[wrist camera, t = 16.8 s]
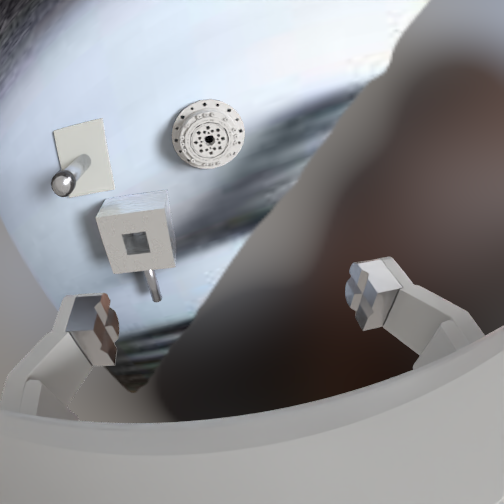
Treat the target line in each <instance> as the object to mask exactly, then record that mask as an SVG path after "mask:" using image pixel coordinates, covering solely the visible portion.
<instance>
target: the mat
mask: <svg viewBox="0 0 504 504" xmlns="http://www.w3.org/2000/svg"><path fill="white" fill-rule="evenodd" d="M54 137H55V142H56V147H57V151H58V156H59V160H60V165H61V169H62V170H65V169H66V168H67V167H68V166H69V165H70V164H71V163H72V162H73V161H74V160H75V159H76V158H77V157H79V156H80V155H81V154H86V155H88V156H89V157H90V158H91V165H90V167H89V168H88V169H87V170H86V171H85V173H84V174H83V175H82V176H81V177H80V178H79V179H78V181H77V182H76V186H75V189H74V190H73V191H72V193H71V194H70V195H69V198H71V197H76V196H81V195H86V194H92V193H97V192H103V191H109V190H115V184H114V179H113V174H112V169H111V164H110V159H109V153H108V147H107V142H106V135H105V129H104V122H103V118H100V119H96V120H92V121H87V122H83V123H79V124H76V125H72V126H68V127H65V128H61V129H58V130H55V131H54Z"/></svg>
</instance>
